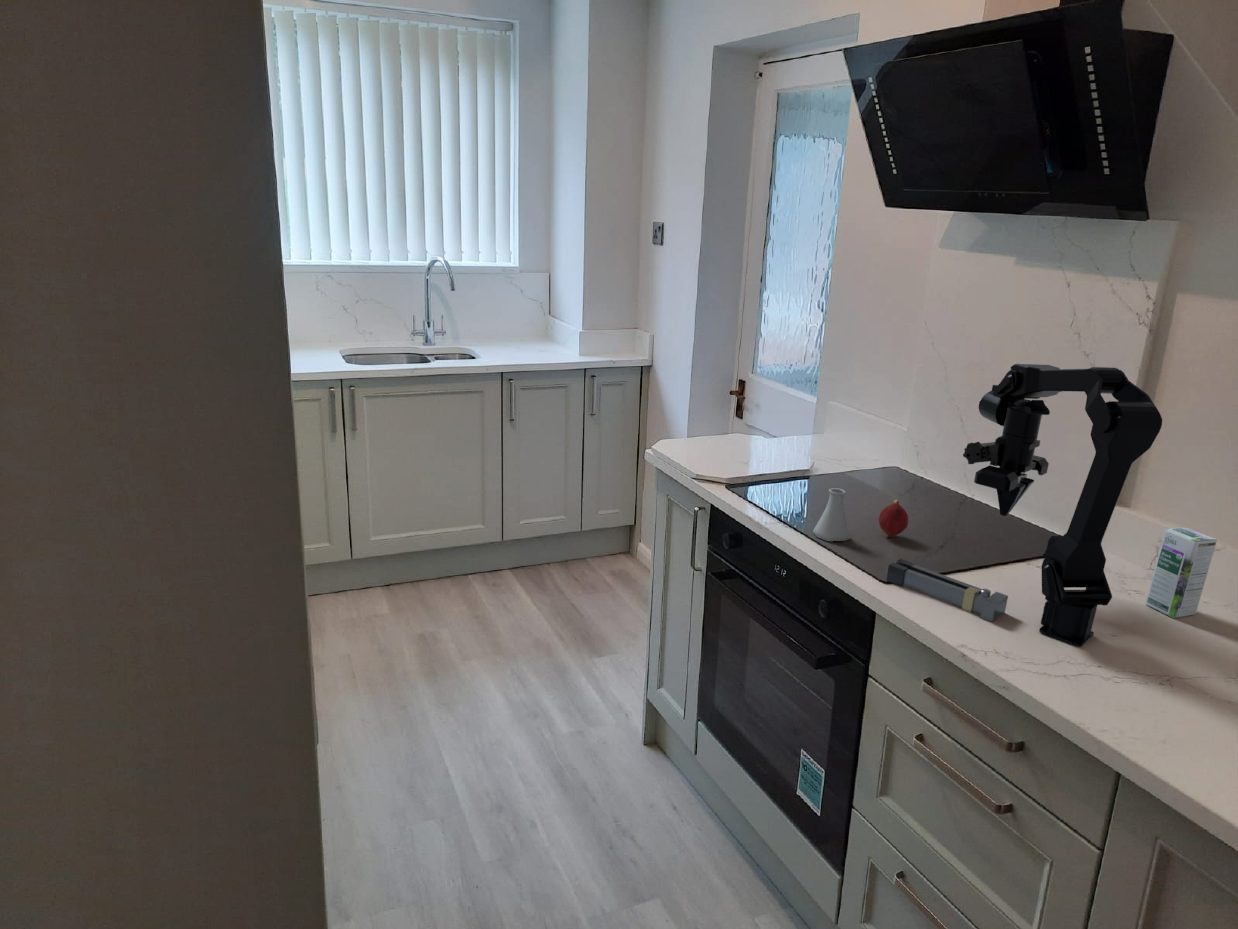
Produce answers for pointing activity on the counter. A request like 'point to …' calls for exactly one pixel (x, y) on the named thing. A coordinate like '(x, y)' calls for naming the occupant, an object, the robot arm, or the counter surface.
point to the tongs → (949, 592)
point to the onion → (893, 519)
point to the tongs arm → (940, 577)
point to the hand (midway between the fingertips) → (1003, 515)
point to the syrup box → (1180, 572)
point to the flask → (833, 519)
